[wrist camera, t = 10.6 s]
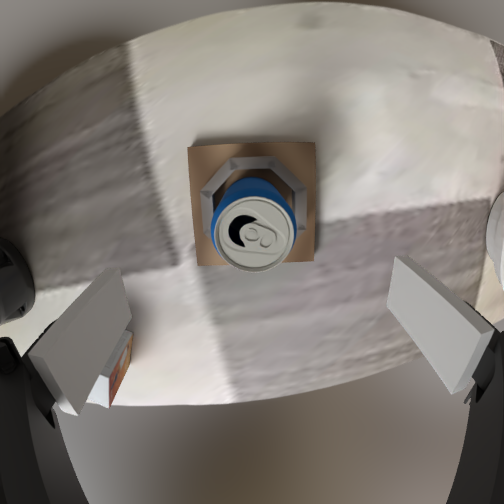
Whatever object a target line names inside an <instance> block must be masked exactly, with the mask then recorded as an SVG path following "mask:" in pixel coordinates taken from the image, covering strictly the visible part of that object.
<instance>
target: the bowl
mask: <svg viewBox="0 0 504 504" xmlns="http://www.w3.org/2000/svg"><path fill="white" fill-rule="evenodd" d="M486 245H487V251H488V254H489V256H490V258H491V259H492V261H493V262H494V268H495V273H496V275H497V277H498V280H499V282H500V284H501V286H502V288H503V290H504V192H503V193H501V194H500V195H499V197H498V198H497V200H496V201H495V203H494V205H493V207H492V210H491V213H490V216H489V219H488V224H487V231H486Z"/></svg>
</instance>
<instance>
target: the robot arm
mask: <svg viewBox="0 0 504 504" xmlns="http://www.w3.org/2000/svg"><path fill="white" fill-rule="evenodd" d="M34 298H35V293H34V286H33V281H32V278H31V275H30V272H29V269H28V267H27V265H26V263H25V261H24V259H23V258H22V256H21V254H20V253H19V252H18V250H17V249H16V248H15V247H14V246H13V245H12V244H11V243H10V242H9V241H7V240H5V239H3V238H0V325H2V324H5V323H8V322H11V321H14V320H16V319H19V318H22V317H23V316H25V315H26V314H27V313H28V312H29V311H30V310H31V309H32V307H33V304H34ZM386 306H387V307H388V308H389V310H390V311H391V312H392V313H393V315H394V316H395V317H396V318H397V320H398V321H399V322H400V324H401V325H402V326H403V328H404V329H405V330H406V331H407V333H408V334H409V335H410V337H411V338H412V339H413V341H414V342H415V343H416V345H417V346H418V348H419V349H420V350H421V352H422V353H423V354H424V356H425V357H426V359H427V360H428V361H429V363H430V364H431V366H432V367H433V368H434V370H435V371H436V373H437V374H438V376H439V377H440V379H441V380H442V381H443V383H444V384H445V386H446V387H447V389H448V390H449V392H450V393H451V394H454V393H456V392H459V391H461V390H463V389H465V388H466V386H467V384H468V383H469V381H470V379H471V377H472V378H473V379H474V380H475V384H474V386H473V388H472V389H471V391H470V392H469V394H468V396H467V397H466V399H465V401H464V403H465V404H466V403H467V401H468V399H470V398H471V402H470V404H469V405H470V411H469V417H468V424H467V430H466V435H465V440H464V445H463V449H462V453H461V457H460V462H459V465H458V469H457V473H456V476H455V479H454V482H453V486H452V489H451V491H450V494H449V497H448V500H447V503H446V504H504V331H502V332H501V333H500V332H499V331H498V330H497V329H496V328H495V327H494V326H493V325H492V324H491V323H490V322H489V321H488V320H486V319H485V318H484V317H483V316H481V314H480V313H479V312H478V311H477V310H476V311H475V309H474V308H473V307H472V306H471V305H470V304H469V303H467V302H465V301H464V300H462V299H461V298H460V297H458V296H457V295H456V294H455V293H454V292H453V291H451V290H450V289H449V288H448V287H447V286H445V285H444V284H443V283H442V282H441V281H439V280H438V279H437V278H436V277H434V276H433V275H432V274H431V273H429V272H428V271H427V270H426V269H424V268H423V267H422V266H421V265H419V264H418V263H417V262H415V261H414V260H413V259H412V258H410V257H409V256H408V255H407V256H395V260H394V266H393V272H392V278H391V284H390V289H389V294H388V299H387V304H386ZM131 319H132V315H131V311H130V308H129V304H128V300H127V296H126V292H125V288H124V284H123V280H122V276H121V271H120V268H107V269H105V270H104V271H103V272H102V273H101V274H100V275H99V276H98V277H97V278H96V279H95V280H94V281H93V282H92V283H91V284H90V285H89V286H88V287H87V288H86V289H85V290H84V291H83V293H82V294H81V295H80V296H79V297H78V298H77V299H76V300H75V301H74V302H73V303H72V304H71V305H70V306H69V307H68V308H67V309H66V310H65V312H64V313H63V314H62V315H61V316H60V317H59V318H58V319H57V320H55V321H54V322H52V323H51V324H50V325H49V326H48V327H47V328H46V329H45V330H44V333H42V334H41V335H40V336H39V339H36V340H35V342H34V343H33V344H32V345H31V346H30V348H29V349H28V350H27V351H26V352H25V354H24V355H23V356H22V357H21V356H20V354H19V352H18V350H17V348H16V346H15V344H14V342H13V340H12V339H11V338H9V337H1V338H0V504H89V503H88V501H87V499H86V497H85V495H84V492H83V490H82V488H81V485H80V483H79V481H78V479H77V476H76V473H75V471H74V468H73V466H72V463H71V461H70V458H69V455H68V452H67V449H66V446H65V443H64V440H63V437H62V433H61V430H60V426H59V423H58V419H57V415H56V413H55V411H54V409H53V408H52V406H53V405H54V403H55V401H56V402H57V404H58V405H59V407H60V408H61V409H62V411H63V412H66V413H69V414H73V415H77V416H79V414H80V412H81V410H82V408H83V406H84V404H85V402H86V400H87V398H88V396H89V394H90V392H91V390H92V388H93V387H94V385H95V383H96V381H97V379H98V377H99V375H100V373H101V371H102V370H103V368H104V366H105V364H106V362H107V360H108V359H109V357H110V355H111V353H112V351H113V350H114V348H115V346H116V344H117V343H118V341H119V339H120V337H121V336H122V334H123V332H124V330H125V329H126V327H127V325H128V324H129V322H130V320H131Z"/></svg>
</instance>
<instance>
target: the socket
mask: <svg viewBox="0 0 504 504" xmlns="http://www.w3.org/2000/svg"><path fill="white" fill-rule="evenodd" d="M187 148H188V165H189V179H190V192H191V205H192V216H193V226H194V236H195V246H196V255H197V263H198V266H207V265H230V264H228V263H227V262H226V261H225V260H224V259H223V258H222V257H221V256H220V255H219V253H218V252H217V250H216V249H215V247H214V244H213V242H212V238H211V221H212V217H213V214H214V212H215V210H216V208H217V207H218V205H219V203H220V201H221V199H222V198H223V196H224V194H225V192H226V191H227V189H228V188H229V187H230V186H231V185H232V184H233V183H234V182H236V181H237V180H239V179H242V178H245V177H259V178H262V179H265V180H267V181H268V182H270V183H271V184H272V185H273V186H274V187H275V188H276V189H277V190H278V192H279V193H280V194H281V196H282V197H283V198H284V199H285V201H286V202H287V203H288V205H289V206H290V207H291V209H292V211H293V213H294V215H295V219H296V224H297V234H296V239H295V243H294V245H293V247H292V249H291V251H290V252H289V254H288V255H287V257H286V258H285V259H284V260H283V261H282V262H281V263H283V262H306V261H314V243H315V204H316V156H315V143H311V142H263V143H236V144H220V145H206V146H195V147H187Z"/></svg>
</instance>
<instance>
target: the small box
mask: <svg viewBox="0 0 504 504" xmlns="http://www.w3.org/2000/svg"><path fill="white" fill-rule="evenodd" d="M132 339H133V333H132V332H130V331H127V330H124V332H123V334H122V336H121V337H120V339H119V341H118V343H117V344H116V346H115V348H114V350H113V351H112V353H111V355H110V357H109V359H108V360H107V362H106V364H105V366H104V368H103V370H102V371H101V373H100V375H99V377H98V379H97V381H96V383H95V385H94V387H93V388H92V390H91V392H90V394H89V396H88V398H87V399H89V400H91V401H93V402H95V403H98V404H100V405H102V406H104V407H107V408H110V406H111V404H112V402H113V399H114V397H115V395H116V393H117V391H118V389H119V387H120V384H121V382H122V380H123V378H124V376H125V374H126V372H127V369H128V367H129V365H130V353H131V346H132Z"/></svg>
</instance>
